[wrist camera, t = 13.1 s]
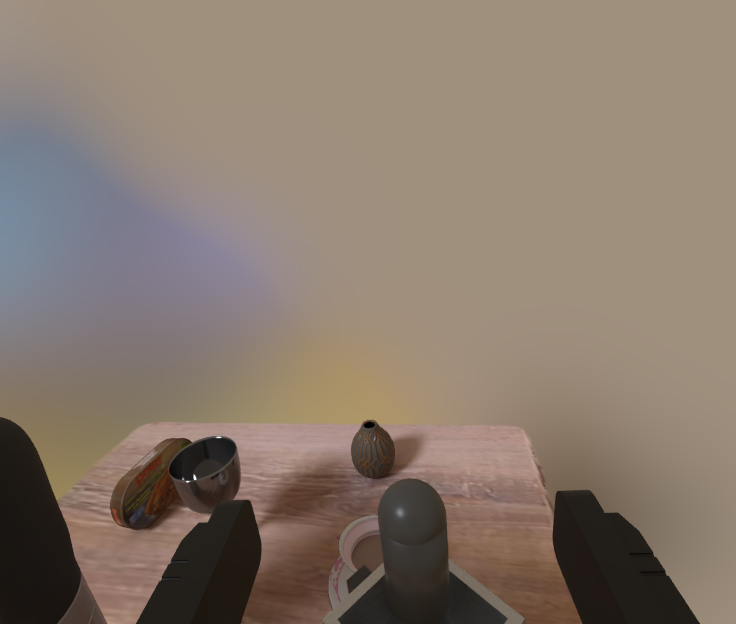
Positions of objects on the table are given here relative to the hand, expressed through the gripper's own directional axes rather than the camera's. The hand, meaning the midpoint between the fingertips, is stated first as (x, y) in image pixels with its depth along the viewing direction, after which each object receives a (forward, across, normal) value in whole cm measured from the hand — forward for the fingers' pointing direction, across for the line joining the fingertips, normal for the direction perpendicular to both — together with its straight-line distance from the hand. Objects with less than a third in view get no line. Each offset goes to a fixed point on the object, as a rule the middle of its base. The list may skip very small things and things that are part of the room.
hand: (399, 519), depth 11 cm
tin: (+39, +39, +38) cm, 68 cm away
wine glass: (+31, +25, +38) cm, 55 cm away
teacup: (+26, +5, +38) cm, 46 cm away
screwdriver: (+11, 0, +35) cm, 36 cm away
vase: (+44, +6, +38) cm, 59 cm away
